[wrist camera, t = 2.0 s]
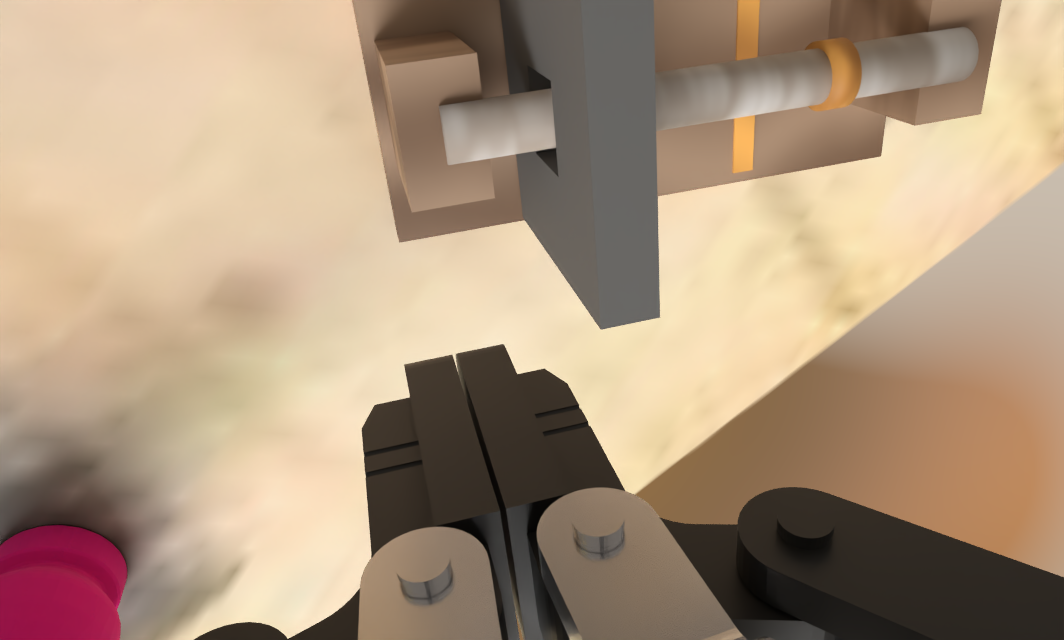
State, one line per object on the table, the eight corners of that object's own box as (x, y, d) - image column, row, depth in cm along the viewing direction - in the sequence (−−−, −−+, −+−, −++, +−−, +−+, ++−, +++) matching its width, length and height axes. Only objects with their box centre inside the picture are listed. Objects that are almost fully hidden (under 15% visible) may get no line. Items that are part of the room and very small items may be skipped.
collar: (493, -59, 29) (577, -52, 19) (544, -65, 29) (652, -61, 20) (522, 217, 34) (600, 329, 24) (566, 209, 34) (660, 317, 25)
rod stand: (341, -58, 30) (348, -53, 22) (890, -120, 34) (1067, -135, 26) (396, 230, 35) (418, 318, 27) (861, 148, 39) (998, 204, 31)
